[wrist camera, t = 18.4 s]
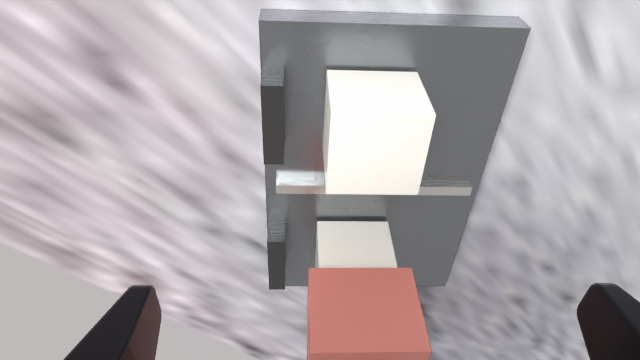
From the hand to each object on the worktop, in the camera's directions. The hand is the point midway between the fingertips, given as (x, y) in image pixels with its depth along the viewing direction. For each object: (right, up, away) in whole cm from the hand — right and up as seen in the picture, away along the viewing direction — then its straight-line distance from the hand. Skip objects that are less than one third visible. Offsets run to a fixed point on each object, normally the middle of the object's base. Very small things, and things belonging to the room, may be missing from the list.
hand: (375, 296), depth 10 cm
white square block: (+1, +5, +9) cm, 11 cm away
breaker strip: (+1, +3, +13) cm, 13 cm away
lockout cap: (+1, -3, +12) cm, 12 cm away
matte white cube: (0, -1, +14) cm, 14 cm away
